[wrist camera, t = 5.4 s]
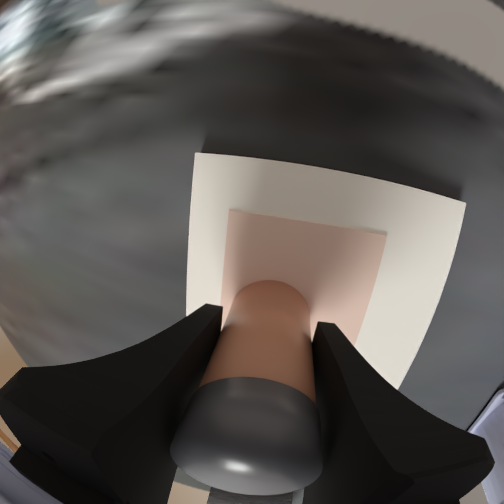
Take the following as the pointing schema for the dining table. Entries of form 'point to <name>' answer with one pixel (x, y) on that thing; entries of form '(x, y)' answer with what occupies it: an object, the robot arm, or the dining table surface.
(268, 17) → the dining table surface
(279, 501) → the frame
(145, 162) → the dining table surface
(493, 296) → the dining table surface
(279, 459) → the marker
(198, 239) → the picture sheet
